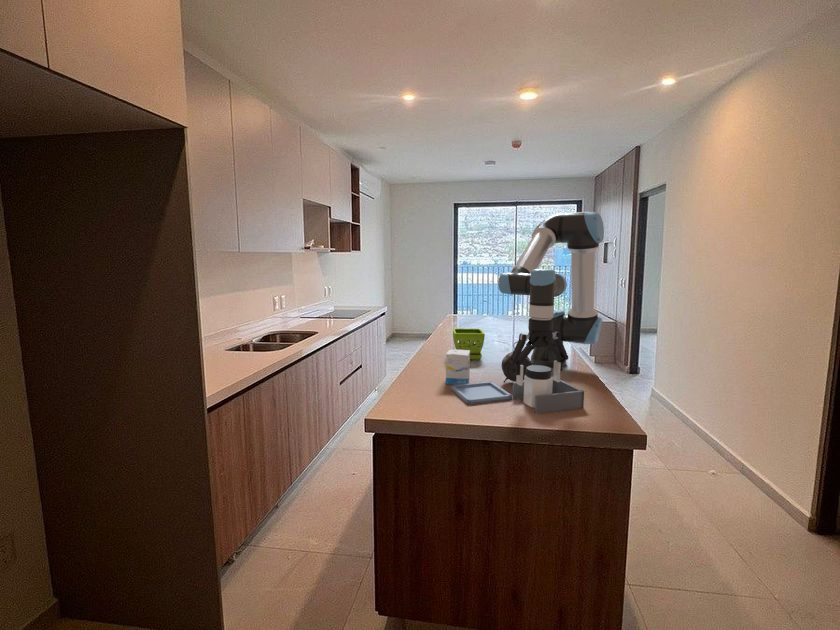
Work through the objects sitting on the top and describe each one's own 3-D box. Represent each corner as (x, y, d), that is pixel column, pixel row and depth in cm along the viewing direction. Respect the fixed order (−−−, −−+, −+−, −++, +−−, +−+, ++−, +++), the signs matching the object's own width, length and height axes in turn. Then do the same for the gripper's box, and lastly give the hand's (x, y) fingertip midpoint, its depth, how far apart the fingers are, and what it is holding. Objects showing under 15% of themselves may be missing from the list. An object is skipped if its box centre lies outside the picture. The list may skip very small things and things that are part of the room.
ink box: (468, 385, 160) (468, 355, 158) (445, 384, 162) (445, 354, 160) (470, 378, 169) (470, 349, 167) (448, 377, 170) (448, 348, 168)
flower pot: (484, 361, 195) (485, 333, 193) (453, 361, 195) (453, 333, 193) (480, 353, 208) (481, 327, 206) (451, 353, 209) (452, 327, 207)
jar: (531, 397, 147) (533, 363, 146) (554, 402, 142) (556, 367, 140) (519, 404, 141) (520, 369, 139) (543, 410, 135) (544, 373, 134)
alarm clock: (529, 381, 165) (531, 340, 162) (532, 386, 159) (534, 343, 157) (500, 381, 165) (502, 339, 163) (502, 385, 160) (503, 342, 158)
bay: (555, 392, 152) (556, 377, 151) (583, 407, 138) (584, 391, 137) (512, 397, 147) (513, 382, 146) (536, 413, 133) (537, 396, 132)
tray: (491, 385, 161) (491, 381, 160) (512, 399, 145) (512, 395, 145) (450, 389, 156) (450, 385, 156) (468, 404, 141) (468, 400, 141)
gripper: (567, 314, 144) (564, 376, 147) (499, 318, 137) (497, 382, 140) (582, 318, 137) (578, 382, 140) (511, 321, 130) (509, 389, 133)
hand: (538, 382), depth 140 cm, fingers open, 13 cm apart
